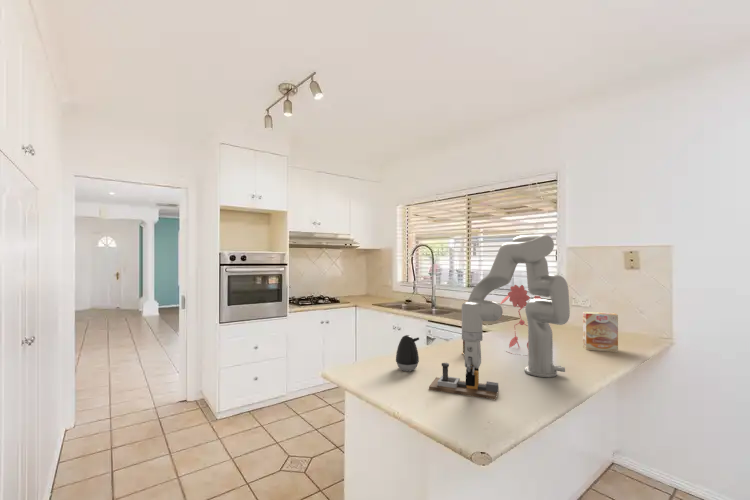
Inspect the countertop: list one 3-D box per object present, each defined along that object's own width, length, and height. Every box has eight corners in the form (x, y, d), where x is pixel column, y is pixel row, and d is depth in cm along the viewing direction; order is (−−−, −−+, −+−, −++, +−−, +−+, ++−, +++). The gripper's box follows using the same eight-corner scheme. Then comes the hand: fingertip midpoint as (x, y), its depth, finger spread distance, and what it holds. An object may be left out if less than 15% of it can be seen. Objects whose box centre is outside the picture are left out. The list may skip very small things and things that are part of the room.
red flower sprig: (507, 343, 205) (506, 282, 205) (549, 354, 183) (548, 285, 183) (488, 348, 197) (487, 284, 197) (531, 359, 175) (529, 287, 175)
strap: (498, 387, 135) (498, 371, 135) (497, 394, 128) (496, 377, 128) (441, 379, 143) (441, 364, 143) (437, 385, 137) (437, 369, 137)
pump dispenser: (418, 374, 154) (418, 338, 154) (394, 372, 156) (394, 337, 156) (420, 366, 164) (420, 333, 164) (397, 365, 166) (397, 332, 166)
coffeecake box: (586, 350, 191) (585, 313, 191) (582, 346, 198) (582, 311, 198) (618, 352, 187) (618, 314, 187) (614, 348, 193) (613, 312, 194)
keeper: (498, 388, 136) (498, 365, 137) (495, 399, 126) (495, 374, 126) (436, 380, 146) (436, 358, 146) (429, 389, 136) (428, 366, 136)
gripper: (479, 341, 126) (479, 390, 126) (485, 331, 142) (485, 375, 141) (457, 339, 129) (457, 387, 129) (465, 330, 145) (466, 372, 144)
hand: (472, 381), depth 135 cm, fingers open, 9 cm apart
